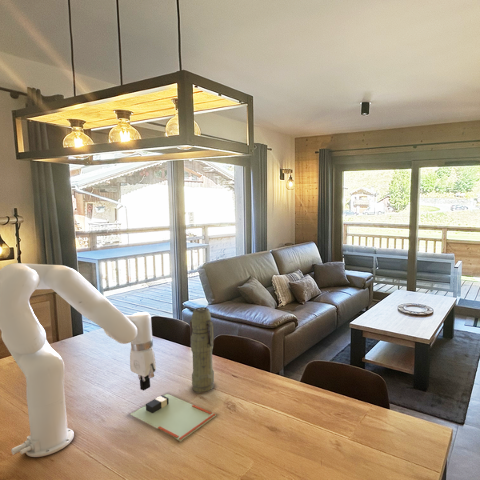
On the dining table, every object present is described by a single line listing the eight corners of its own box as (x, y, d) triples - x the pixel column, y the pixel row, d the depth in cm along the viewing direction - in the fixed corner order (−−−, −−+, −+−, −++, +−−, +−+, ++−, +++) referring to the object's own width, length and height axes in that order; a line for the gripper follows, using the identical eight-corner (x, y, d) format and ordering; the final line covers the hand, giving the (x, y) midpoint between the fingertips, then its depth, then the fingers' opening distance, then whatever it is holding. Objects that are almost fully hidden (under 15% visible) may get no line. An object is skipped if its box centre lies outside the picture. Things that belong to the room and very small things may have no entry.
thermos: (198, 380, 154) (196, 304, 150) (221, 385, 150) (219, 307, 146) (184, 390, 146) (181, 310, 141) (208, 396, 142) (206, 314, 137)
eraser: (152, 413, 129) (152, 407, 129) (145, 410, 131) (145, 403, 131) (168, 404, 135) (168, 397, 135) (162, 401, 137) (161, 394, 137)
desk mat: (180, 441, 115) (180, 439, 115) (129, 415, 129) (129, 413, 129) (216, 415, 129) (216, 414, 129) (167, 394, 143) (167, 392, 143)
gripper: (121, 344, 135) (124, 387, 137) (145, 352, 128) (148, 398, 130) (139, 337, 141) (142, 379, 144) (163, 345, 134) (166, 388, 137)
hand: (145, 388), depth 137 cm, fingers closed
